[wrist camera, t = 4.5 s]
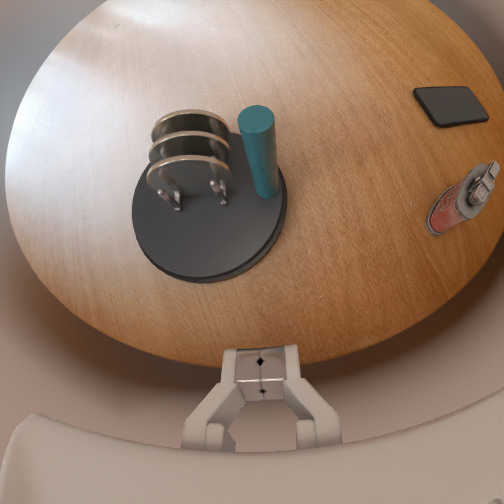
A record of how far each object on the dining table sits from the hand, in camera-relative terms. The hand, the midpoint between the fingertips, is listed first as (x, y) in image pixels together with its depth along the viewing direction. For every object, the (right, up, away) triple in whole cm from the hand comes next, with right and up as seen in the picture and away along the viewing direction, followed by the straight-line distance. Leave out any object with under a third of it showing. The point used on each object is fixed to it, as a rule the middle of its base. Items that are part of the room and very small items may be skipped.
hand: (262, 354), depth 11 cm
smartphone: (+31, +27, +19) cm, 45 cm away
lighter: (+23, +9, +17) cm, 30 cm away
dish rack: (-6, +10, +19) cm, 22 cm away
